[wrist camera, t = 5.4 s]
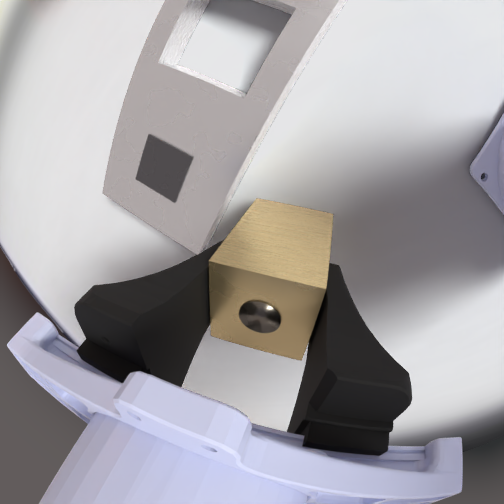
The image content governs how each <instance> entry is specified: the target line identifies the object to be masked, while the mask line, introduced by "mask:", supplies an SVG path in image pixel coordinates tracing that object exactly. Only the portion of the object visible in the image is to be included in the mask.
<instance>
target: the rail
mask: <svg viewBox="0 0 504 504" xmlns="http://www.w3.org/2000/svg"><path fill="white" fill-rule="evenodd" d="M252 1H255V2H258V3H261V4H264V5H267V6H270V7H273V8H275V9H278V10H281V11H283V12H286V13H288V14H291V15H292V16H291V18H290V19H289V21H288V22H287V24H286V26H285V27H284V29H283V31H282V32H281V34H280V35H279V37H278V39H277V40H276V42H275V44H274V46H273V47H272V49H271V51H270V52H269V54H268V56H267V58H266V59H265V61H264V63H263V65H262V67H261V68H260V70H259V72H258V74H257V76H256V77H255V79H254V81H253V83H252V85H251V87H250V89H249V90H248V92H247V94H246V93H244V92H242V91H240V90H238V89H235V88H233V87H231V86H229V85H227V84H224V83H222V82H220V81H218V80H215V79H213V78H211V77H208V76H206V75H203V74H201V73H198V72H196V71H193V70H191V69H188V68H186V67H183V66H180V65H178V63H179V61H180V59H181V56H182V54H183V52H184V50H185V48H186V46H187V44H188V42H189V40H190V37H191V35H192V33H193V32H194V30H195V28H196V26H197V24H198V22H199V20H200V18H201V16H202V14H203V13H204V11H205V9H206V7H207V5H208V4H209V2H210V0H165V2H164V4H163V6H162V8H161V10H160V12H159V14H158V16H157V18H156V20H155V22H154V24H153V26H152V28H151V31H150V33H149V35H148V37H147V40H146V42H145V44H144V47H143V49H142V52H141V54H140V57H139V59H138V62H137V64H136V67H135V70H134V72H133V75H132V78H131V81H130V84H129V87H128V90H127V93H126V96H125V99H124V102H123V106H122V109H121V112H120V116H119V120H118V123H117V127H116V131H115V135H114V139H113V143H112V147H111V151H110V156H109V161H108V165H107V171H106V176H105V181H104V187H103V194H104V195H106V196H107V197H109V198H110V199H112V200H113V201H115V202H116V203H118V204H119V205H121V206H122V207H124V208H125V209H127V210H128V211H130V212H131V213H133V214H134V215H136V216H137V217H139V218H140V219H142V220H143V221H145V222H146V223H148V224H149V225H151V226H153V227H154V228H156V229H157V230H159V231H160V232H162V233H163V234H165V235H166V236H168V237H170V238H171V239H173V240H174V241H176V242H177V243H179V244H181V245H182V246H184V247H185V248H187V249H188V250H190V251H192V252H193V253H195V254H196V255H198V254H199V253H200V252H201V251H202V250H203V249H204V247H205V246H206V245H207V244H208V243H209V241H210V240H211V239H212V237H213V235H214V233H215V231H216V229H217V227H218V225H219V223H220V221H221V219H222V217H223V215H224V213H225V211H226V209H227V207H228V205H229V203H230V201H231V199H232V197H233V195H234V193H235V191H236V189H237V187H238V185H239V184H240V182H241V180H242V178H243V176H244V174H245V172H246V170H247V168H248V167H249V165H250V163H251V161H252V159H253V157H254V155H255V154H256V152H257V150H258V148H259V146H260V144H261V143H262V141H263V139H264V137H265V135H266V134H267V132H268V130H269V128H270V126H271V125H272V123H273V121H274V119H275V118H276V116H277V114H278V112H279V111H280V109H281V107H282V105H283V104H284V102H285V100H286V98H287V97H288V95H289V93H290V92H291V90H292V88H293V86H294V85H295V83H296V81H297V80H298V78H299V76H300V75H301V73H302V71H303V70H304V68H305V66H306V65H307V63H308V61H309V60H310V58H311V57H312V55H313V53H314V52H315V50H316V48H317V47H318V45H319V44H320V42H321V40H322V39H323V37H324V36H325V34H326V33H327V31H328V29H329V28H330V26H331V25H332V23H333V22H334V20H335V19H336V17H337V16H338V14H339V13H340V11H341V10H342V8H343V7H344V5H345V4H346V2H347V1H348V0H252Z"/></svg>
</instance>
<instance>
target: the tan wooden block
mask: <svg viewBox="0 0 504 504" xmlns="http://www.w3.org/2000/svg"><path fill="white" fill-rule="evenodd" d="M332 226H333V214H331V213H326V212H322V211H317V210H313V209H308V208H304V207H299V206H294V205H289V204H284V203H279V202H274V201H269V200H264V199H258V198H256V200H255V201H254V202H253V204H252V205H251V206H250V207H249V209H248V210H247V211H246V213H245V214H244V215H243V216H242V218H241V219H240V220H239V222H238V223H237V224H236V226H235V227H234V228H233V229H232V231H231V232H230V233H229V235H228V236H227V237H226V239H225V240H224V241H223V243H222V244H221V245H220V247H219V248H218V249H217V251H216V252H215V253H214V255H213V256H212V257H211V259H210V260H209V296H210V325H211V336H213V337H216V338H219V339H223V340H226V341H229V342H233V343H236V344H239V345H243V346H246V347H250V348H254V349H257V350H261V351H265V352H269V353H272V354H276V355H280V356H284V357H288V358H293V359H297V360H302V358H303V355H304V353H305V350H306V347H307V344H308V342H309V339H310V336H311V333H312V330H313V328H314V325H315V322H316V319H317V316H318V313H319V310H320V307H321V304H322V301H323V298H324V295H325V292H326V287H327V279H328V270H329V260H330V250H331V238H332Z"/></svg>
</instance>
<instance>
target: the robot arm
mask: <svg viewBox="0 0 504 504" xmlns="http://www.w3.org/2000/svg"><path fill="white" fill-rule="evenodd" d="M483 173H485V177H484V179H483V180H481V175H482V174H483ZM470 174H471V175H472V177H473V178H474V179H475V180H476V181H477V182H478V184H479V185H480V186H481V187H482V188H483V189H484V191H485V192H486V193H487V194H488V195H489V197H490V198H491V199H492V200H493V202H494V203H495V204H496V206H497V207H498V208H499V209H500V211H501V212H502V213H503V215H504V113H503V115H502V117H501V118H500V120H499V122H498V124H497V125H496V127H495V129H494V130H493V132H492V133H491V135H490V137H489V138H488V140H487V141H486V143H485V144H484V146H483V147H482V149H481V150H480V152H479V153H478V155H477V156H476V158H475V159H474V161H473V162H472V164H471V166H470ZM223 241H224V240H223ZM223 241H221V242H219V243H217V244H216V245H214V246H212V247H210V248H209V249H207V250H205V251H203V252H201V253H200V254H198V255H196V256H194V257H192V258H190V259H188V260H186V261H184V262H182V263H180V264H178V265H176V266H173V267H171V268H169V269H166V270H163V271H161V272H158V273H155V274H152V275H148V276H145V277H142V278H138V279H134V280H129V281H124V282H119V283H112V284H103V285H94V286H93V287H92V288H91V289H90V290H89V291H88V292H87V293H86V294H85V295H84V296H83V297H82V298H81V299H80V300H79V301H78V302H77V303H76V304H75V307H74V308H75V315H76V318H77V320H78V322H79V324H80V327H81V329H82V331H83V333H84V335H85V337H86V340H85V341H84V342H83V343H82V345H81V346H80V347H77V346H75V345H74V344H72V343H71V342H69V341H68V340H66V339H65V338H63V337H61V336H60V335H59V334H58V332H57V329H56V328H55V326H54V325H53V323H52V322H51V321H50V320H48V319H47V318H45V317H44V316H42V315H41V314H39V313H36V314H35V315H34V316H33V317H32V318H31V319H30V320H29V321H28V322H27V323H26V324H25V325H24V326H23V328H22V329H21V330H20V331H19V332H18V333H17V334H16V335H15V336H14V337H13V338H12V339H11V340H10V342H9V343H8V344H7V346H8V348H9V349H10V351H11V352H12V353H13V355H14V356H15V357H16V358H17V360H18V361H19V362H20V364H21V365H22V366H23V368H24V369H25V370H26V371H27V372H28V374H29V375H30V376H31V377H32V378H33V379H34V380H35V381H37V382H38V383H39V384H40V385H41V386H42V387H43V388H44V389H45V390H47V391H48V392H49V393H50V394H51V395H52V396H54V397H55V398H56V399H57V400H58V401H59V402H61V403H62V404H63V405H64V406H66V407H67V408H68V409H69V410H71V411H72V412H73V413H74V414H76V415H77V416H78V417H80V418H81V419H82V420H84V421H85V422H86V423H88V425H87V427H86V428H85V430H84V431H83V433H82V435H81V436H80V438H79V439H78V441H77V442H76V444H75V445H74V447H73V448H72V450H71V452H70V453H69V455H68V456H67V458H66V460H65V462H64V463H63V464H62V466H61V468H60V469H59V471H58V473H57V474H56V476H55V477H54V479H53V481H52V482H51V484H50V486H49V487H48V489H47V491H46V493H45V495H44V496H43V498H42V499H41V501H40V503H39V504H429V503H432V502H435V501H439V500H441V499H444V498H447V497H450V496H453V495H455V494H458V493H460V492H461V491H462V438H460V437H455V438H440V439H436V440H434V441H432V442H430V443H429V444H427V445H426V446H421V447H409V446H388V443H389V432H391V431H392V430H393V420H395V419H396V418H397V417H398V416H399V415H400V414H401V413H403V412H404V411H405V410H406V409H407V408H408V406H409V405H410V404H411V401H412V389H411V382H410V377H409V373H408V372H407V371H406V370H405V369H404V368H403V367H402V366H401V365H400V364H399V363H397V362H396V361H395V360H394V359H393V358H392V357H391V356H390V355H389V353H388V352H387V351H386V350H385V349H384V348H383V347H382V346H381V344H380V343H379V342H378V341H377V339H376V338H375V337H374V335H373V334H372V333H371V331H370V330H369V329H368V327H367V326H366V324H365V322H364V321H363V319H362V318H361V316H360V314H359V312H358V310H357V308H356V306H355V304H354V302H353V300H352V298H351V296H350V293H349V291H348V289H347V286H346V284H345V281H344V278H343V275H342V272H341V269H340V267H339V265H335V264H331V263H329V270H328V279H327V287H326V292H325V295H324V298H323V301H322V304H321V307H320V310H319V313H318V316H317V319H316V322H315V325H314V328H313V330H312V333H311V336H310V339H309V344H308V353H307V360H306V365H305V369H304V373H303V377H302V381H301V385H300V389H299V393H298V396H297V400H296V404H295V407H294V411H293V414H292V417H291V421H290V424H289V427H288V430H287V432H285V431H280V430H276V429H272V428H268V427H264V426H260V425H256V424H253V423H251V422H250V420H249V418H248V417H247V416H246V415H245V414H243V413H242V412H241V411H239V410H238V409H236V408H234V407H232V406H229V405H227V404H225V403H222V402H220V401H217V400H214V399H211V398H208V397H205V396H202V395H200V394H197V393H194V392H192V391H189V390H186V389H184V388H181V386H182V384H183V381H184V379H185V376H186V374H187V371H188V369H189V366H190V364H191V362H192V360H193V357H194V355H195V353H196V350H197V348H198V346H199V344H200V342H201V340H202V337H203V335H204V333H205V332H206V330H207V328H208V326H209V325H210V296H209V260H210V259H211V257H212V256H213V255H214V253H215V252H216V251H217V249H218V248H219V247H220V245H221V244H222V243H223Z"/></svg>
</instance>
